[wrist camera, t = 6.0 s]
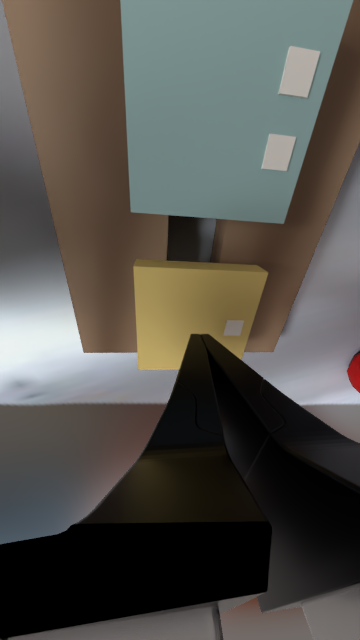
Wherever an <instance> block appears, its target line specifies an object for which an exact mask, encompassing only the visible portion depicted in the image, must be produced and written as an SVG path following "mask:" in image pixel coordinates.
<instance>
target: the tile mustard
mask: <svg viewBox="0 0 360 640" xmlns="http://www.w3.org/2000/svg"><path fill="white" fill-rule="evenodd" d="M133 269H134V289H135V310H136V330H137V351H138V370H179V369H180V366H181V363H182V360H183V356H184V353H185V350H186V347H187V344H188V341H189V338H190V335H191V334H210V335H211V336H212V337H213V338H215V339H216V340H217V341H218V342H220V343H221V344H222V345H223V346H224V347H226V348H227V349H228V350H229V351H231V352H232V353H233V354H234V355H236V356H237V357H238V358H239V359H242V356H243V353H244V350H245V346H246V343H247V340H248V337H249V334H250V330H251V327H252V324H253V321H254V318H255V314H256V311H257V308H258V305H259V302H260V298H261V295H262V292H263V289H264V285H265V282H266V279H267V276H268V272H267V271H265V270H264V269H262V268H261V267H259V266H258V265H245V264H225V263H206V262H186V261H166V260H146V259H136V261H135V264H134V266H133Z"/></svg>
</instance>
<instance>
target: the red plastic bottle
mask: <svg viewBox="0 0 360 640" xmlns="http://www.w3.org/2000/svg"><path fill="white" fill-rule="evenodd" d="M347 373H348V377H349V380H350V382H351V384H352V386H353V387H354V388H355V389H356V390H357V391H358V392H359V393H360V353H358V354H357V355H355V356H354V358H353V360H352V362H351V364H350V366H349V368H348V370H347Z"/></svg>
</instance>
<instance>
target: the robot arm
mask: <svg viewBox="0 0 360 640" xmlns="http://www.w3.org/2000/svg"><path fill="white" fill-rule="evenodd" d="M255 597H257V598H258V602H259V606H260V609H261V612H262V613H266V612H271V611H278V610H284V609H290V608H296V607H302V609H303V611H304V614H305V617H306V620H307V623H308V626H309V628H310V631H311V634H312V637H313V640H360V443H358V442H355V441H353V440H351V439H349V438H347V437H345V436H344V435H342V434H340V433H339V432H337V431H336V430H334V429H333V428H331V427H330V426H328V425H327V424H325V423H324V422H323V421H321V420H320V419H318V418H317V417H315V416H314V415H313V414H311V413H310V412H308V411H307V410H305V409H304V408H302V407H301V406H300V405H298V404H297V403H295V402H294V401H293V400H291V399H290V398H288V397H287V396H286V395H284V394H283V393H282V392H280V391H279V390H278V389H277V388H275V387H274V386H273V385H271V384H270V383H269V382H268V381H267V380H265V379H264V378H263V377H261V376H260V375H259V374H258V373H257V372H255V371H254V370H253V369H252V368H250V367H249V366H248V365H247V364H245V363H244V362H243V361H242V360H241V359H239V358H238V357H237V356H236V355H234V354H233V353H232V352H231V351H229V350H228V349H227V348H226V347H224V346H223V345H222V344H221V343H220V342H218V341H217V340H216V339H215V338H213V337H212V336H211V335H210V334H191V335H190V338H189V341H188V344H187V347H186V350H185V353H184V356H183V360H182V363H181V366H180V369H179V372H178V375H177V378H176V382H175V384H174V388H173V390H172V393H171V396H170V399H169V401H168V403H167V405H166V407H165V410H164V412H163V414H162V416H161V417H160V420H159V421H158V423H157V425H156V427H155V429H154V431H153V433H152V435H151V437H150V439H149V441H148V443H147V444H146V446H145V448H144V450H143V452H142V453H141V455H140V456H139V458H138V459H137V461H136V462H135V463H134V464H133V465H132V467H131V468H130V469H129V470H128V471H127V472H126V474H124V476H123V477H122V478H121V479H120V480H119V481H118V482H117V484H116V485H115V486H114V487H113V488H112V489H111V491H110V492H109V493H108V494H107V495H106V496H105V497H104V498H103V499H102V501H101V502H100V503H99V504H98V505H97V506H96V507H95V509H94V510H92V512H90V514H88V515H87V516H86V517H85V518H83V519H82V520H80V521H79V522H77V523H75V524H73V525H71V526H70V527H69V528H68V529H67V530H66V531H64V532H62V533H60V534H57V535H52V536H45V537H40V538H34V539H29V540H23V541H17V542H11V543H6V544H1V545H0V640H223V633H222V627H221V620H220V614H221V613H223V612H225V611H228V610H230V609H232V608H234V607H236V606H238V605H240V604H242V603H244V602H247V601H249V600H251V599H253V598H255Z"/></svg>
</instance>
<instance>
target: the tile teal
mask: <svg viewBox="0 0 360 640" xmlns="http://www.w3.org/2000/svg"><path fill="white" fill-rule="evenodd" d="M120 3H121V23H122V44H123V64H124V85H125V105H126V126H127V146H128V166H129V187H130V207H131V212H135V213H148V214H161V215H174V216H187V217H200V218H213V219H226V220H239V221H252V222H265V223H278V224H284V221H285V218H286V215H287V212H288V208H289V205H290V202H291V199H292V196H293V192H294V189H295V186H296V183H297V180H298V176H299V173H300V170H301V167H302V163H303V160H304V157H305V154H306V151H307V147H308V144H309V141H310V138H311V135H312V131H313V128H314V125H315V122H316V119H317V115H318V112H319V109H320V106H321V102H322V99H323V96H324V93H325V90H326V86H327V83H328V80H329V77H330V74H331V70H332V67H333V64H334V61H335V58H336V54H337V51H338V48H339V45H340V41H341V38H342V35H343V32H344V29H345V25H346V22H347V19H348V16H349V13H350V9H351V6H352V3H353V0H120Z"/></svg>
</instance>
